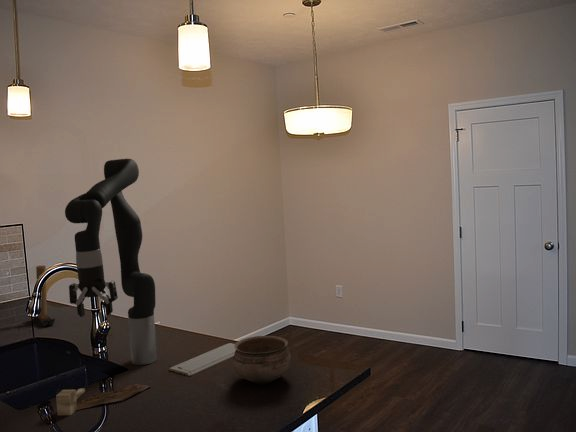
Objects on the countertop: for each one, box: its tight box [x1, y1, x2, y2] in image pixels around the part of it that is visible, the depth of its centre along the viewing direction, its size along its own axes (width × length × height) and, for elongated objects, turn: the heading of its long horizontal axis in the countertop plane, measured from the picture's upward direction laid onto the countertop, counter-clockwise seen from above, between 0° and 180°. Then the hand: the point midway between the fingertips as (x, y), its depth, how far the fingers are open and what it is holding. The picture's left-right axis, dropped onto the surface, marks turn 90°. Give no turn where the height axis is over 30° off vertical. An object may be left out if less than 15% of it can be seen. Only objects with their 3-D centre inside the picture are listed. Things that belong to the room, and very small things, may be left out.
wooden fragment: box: [76, 383, 151, 411], centre depth 163 cm, size 26×11×1 cm, turn 124°
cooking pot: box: [232, 335, 292, 385], centre depth 171 cm, size 25×19×12 cm
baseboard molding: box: [168, 342, 236, 377], centre depth 193 cm, size 31×3×12 cm
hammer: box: [32, 265, 56, 328], centre depth 253 cm, size 20×5×30 cm, turn 42°
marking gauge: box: [55, 388, 86, 416], centre depth 158 cm, size 12×4×6 cm, turn 176°
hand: (95, 315), depth 163 cm, fingers open, 8 cm apart
